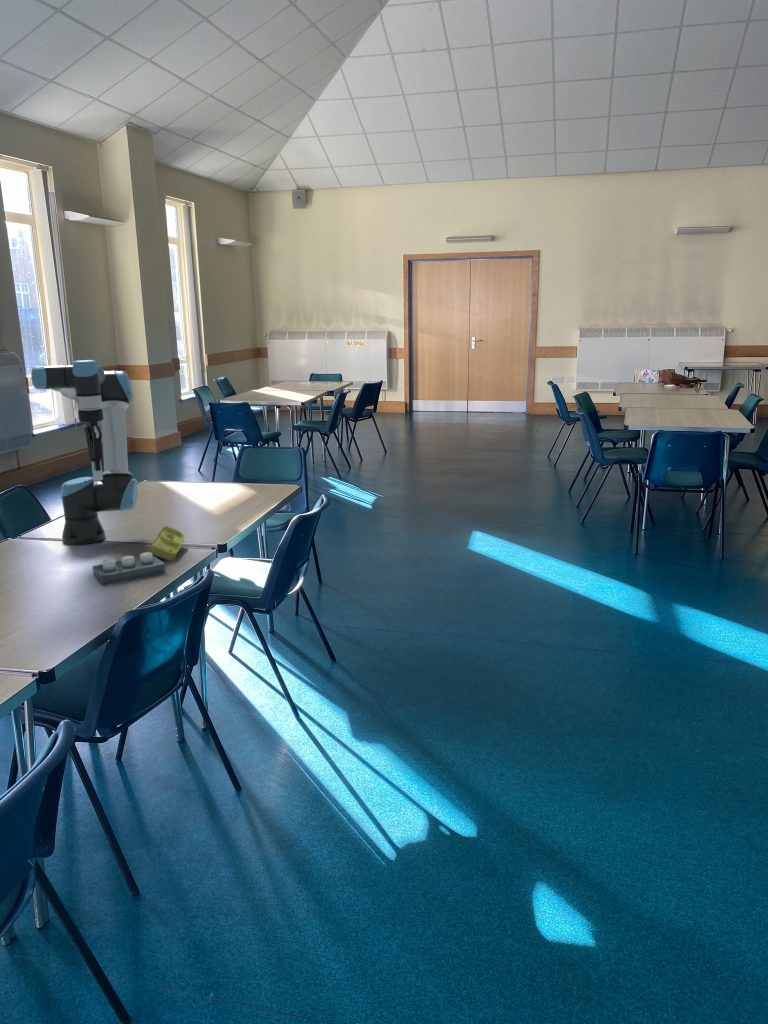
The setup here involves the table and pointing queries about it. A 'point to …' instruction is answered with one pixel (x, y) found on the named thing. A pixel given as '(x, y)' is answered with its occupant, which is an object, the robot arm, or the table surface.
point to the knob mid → (128, 561)
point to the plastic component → (167, 543)
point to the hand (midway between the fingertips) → (98, 479)
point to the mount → (128, 571)
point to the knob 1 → (109, 564)
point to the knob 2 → (146, 557)
